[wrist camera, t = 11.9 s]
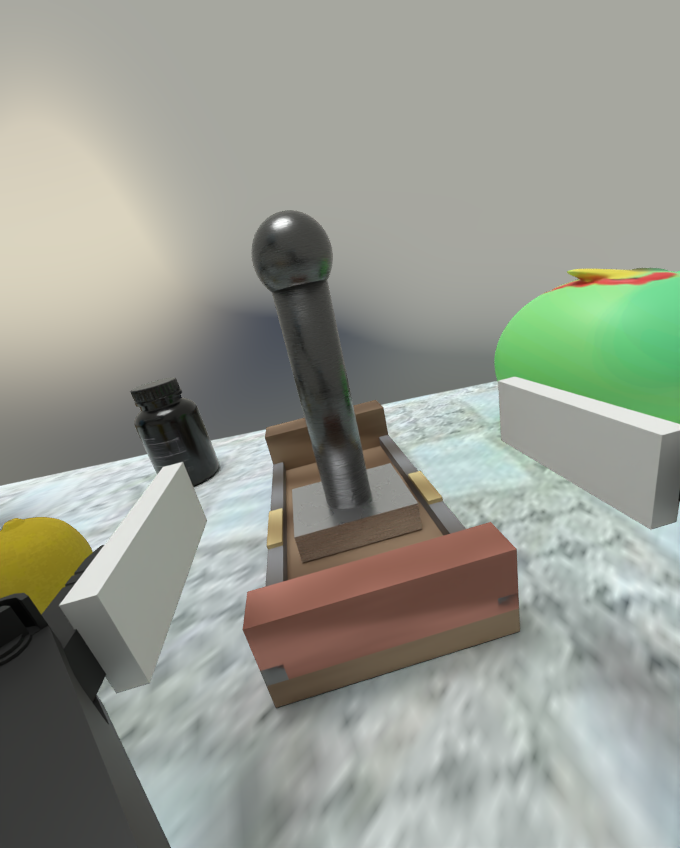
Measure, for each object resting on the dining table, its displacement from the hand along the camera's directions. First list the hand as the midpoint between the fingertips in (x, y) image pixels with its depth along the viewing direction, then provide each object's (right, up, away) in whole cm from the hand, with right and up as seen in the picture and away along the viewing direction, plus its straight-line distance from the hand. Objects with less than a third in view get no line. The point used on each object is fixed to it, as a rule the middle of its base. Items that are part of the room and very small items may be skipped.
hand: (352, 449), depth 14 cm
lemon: (-19, -13, +10) cm, 25 cm away
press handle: (+1, -6, +11) cm, 12 cm away
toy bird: (+25, +1, +19) cm, 31 cm away
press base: (0, -7, +13) cm, 15 cm away
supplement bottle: (-19, -6, +28) cm, 34 cm away
